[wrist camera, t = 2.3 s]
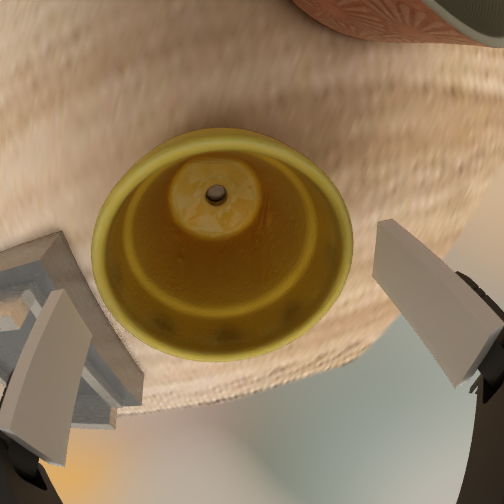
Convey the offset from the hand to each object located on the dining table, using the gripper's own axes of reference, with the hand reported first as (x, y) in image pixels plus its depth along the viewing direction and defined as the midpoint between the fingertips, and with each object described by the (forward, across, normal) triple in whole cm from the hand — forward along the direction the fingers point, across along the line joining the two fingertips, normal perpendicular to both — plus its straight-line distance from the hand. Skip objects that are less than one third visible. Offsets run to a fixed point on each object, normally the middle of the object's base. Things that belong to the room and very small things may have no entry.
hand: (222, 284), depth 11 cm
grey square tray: (+10, -21, -8) cm, 24 cm away
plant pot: (+10, 0, 0) cm, 10 cm away
